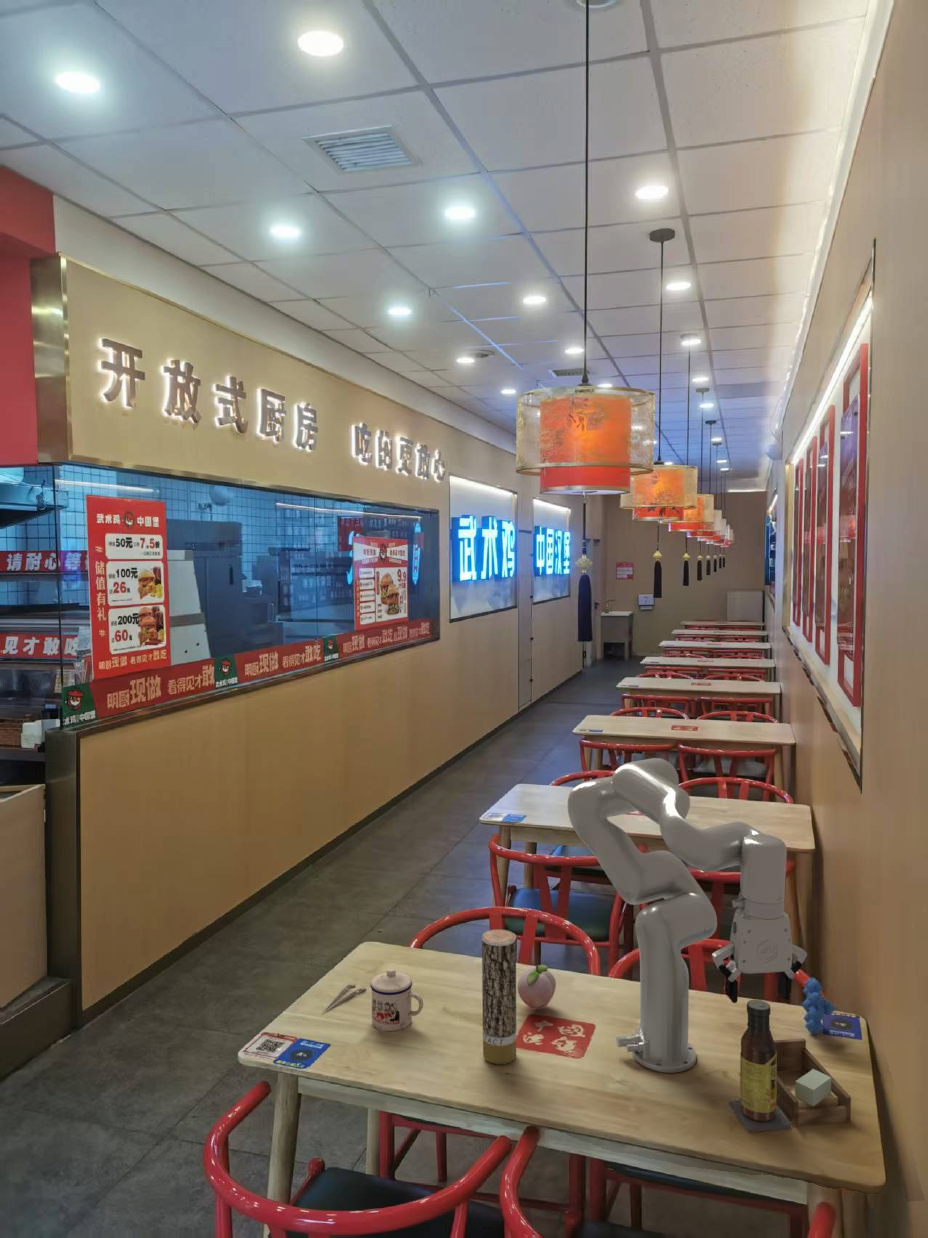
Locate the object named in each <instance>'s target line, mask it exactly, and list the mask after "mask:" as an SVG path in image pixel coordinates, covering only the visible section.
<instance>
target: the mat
mask: <svg viewBox="0 0 928 1238" xmlns="http://www.w3.org/2000/svg"><path fill="white" fill-rule="evenodd" d="M728 1105H729V1106H730V1108H731V1109H732V1111H733V1112H734V1114H735V1115H736V1117H737V1119H738V1120H739V1121H740V1123H741V1124H742V1125H743V1127H744V1128H745V1130H746V1132H747V1133H751V1132H754V1133H755V1132H766V1131H777V1130H778V1131H779V1130H787V1129H788V1130H789V1129H792V1123H791V1122H790V1121H789V1119H788V1118H787V1117H786V1115H785V1114H784V1113H783V1112H782V1110H781V1109H780V1108H779V1106H778V1105H777V1106H776V1111H775V1113H776V1114H775V1116H774V1118H773V1119H772V1120H770V1121H766V1122H763V1121H756V1120H753V1119H750V1118H748V1117H747V1116H746V1115H744V1114H743V1112H742V1110H741V1101H740V1099H739V1100H731V1101H728Z"/></svg>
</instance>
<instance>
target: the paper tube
mask: <svg viewBox="0 0 928 1238" xmlns="http://www.w3.org/2000/svg"><path fill="white" fill-rule="evenodd" d="M516 937H517V936H516V934H515V932H513V931H510V930H508V929H507V930H506V929H490V930H487V931H485V932H484V933H483V934H482V935H481V954H482V955H481V970H482V971H481V973H482V976H481V977H482V978H481V979H482V980H481V982H482V985H481V986H482V989H481V990H482V994H481V995H482V1055H483V1058H484V1059H485V1061H487V1062H489V1063H491V1064H494V1065H506V1064H509V1063H511V1062H513V1061H514V1060H515V1058H516V1057H517V938H516Z"/></svg>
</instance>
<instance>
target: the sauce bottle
mask: <svg viewBox="0 0 928 1238" xmlns="http://www.w3.org/2000/svg"><path fill="white" fill-rule="evenodd" d="M746 1013H747V1024H746V1025H747V1028H746V1030H745V1031H744V1033H743V1034H742V1036H741V1038H740V1063H739V1065H740V1067H739V1068H740V1070H739V1072H740V1074H739V1075H740V1076H739V1078H740V1079H739V1081H740V1082H739V1086H740V1088H739V1093H740V1094H739V1098H740V1099H739V1100H740V1101H741V1110H742V1112H743V1114H744V1115H746V1116H747V1117H748V1118H750V1119H753V1120H756V1121H763V1122H766V1121H770V1120H772V1119H773V1118H774V1116H775V1114H776V1113H775V1111H776V1106H777V1107H778V1105H777V1075H778V1072H777V1049H776V1046H775V1043H774V1040H775V1039H774V1038H773V1035H772V1032H771V1026H770V1020H771V1019H770V1015H771V1004H769V1003H768V1002H766V1001H764V1000H760V999H750V1000H748V1001H747V1003H746Z"/></svg>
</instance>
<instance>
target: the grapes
mask: <svg viewBox="0 0 928 1238" xmlns="http://www.w3.org/2000/svg"><path fill="white" fill-rule="evenodd" d="M804 986H805V988H804V989H803V990H802V992H803V993H804V995H805V996H806V998H805V1000H803V1002H802V1003H801V1006H802V1008H803V1009H804V1010H805V1011H806V1014H805V1016H803V1020H804V1021H805V1022H806V1024H805V1026H804V1027H805V1028H806V1030H807V1031H808V1032H809V1033H810V1034H812V1035H814V1036H815V1035H817V1034H818V1033H819V1032H821V1031H822V1030H823V1028H824V1027H825V1025H824V1024H823V1023H822V1020H823V1019H824V1018H825V1017H826V1015H827V1016H830V1015H831V1014H833V1013H834V1011H835V1010H836V1007H835V1006H834V1005H833V1002H831V1001H830V1000H828V999H825V997H824V995H823V994H822V993H821V992H822V991H823V990H824V987H822V985H821V983H820V982H819V980H817V979H816V978H815V977H810V978H808V979H807V980H806V982H805V983H804Z"/></svg>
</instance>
